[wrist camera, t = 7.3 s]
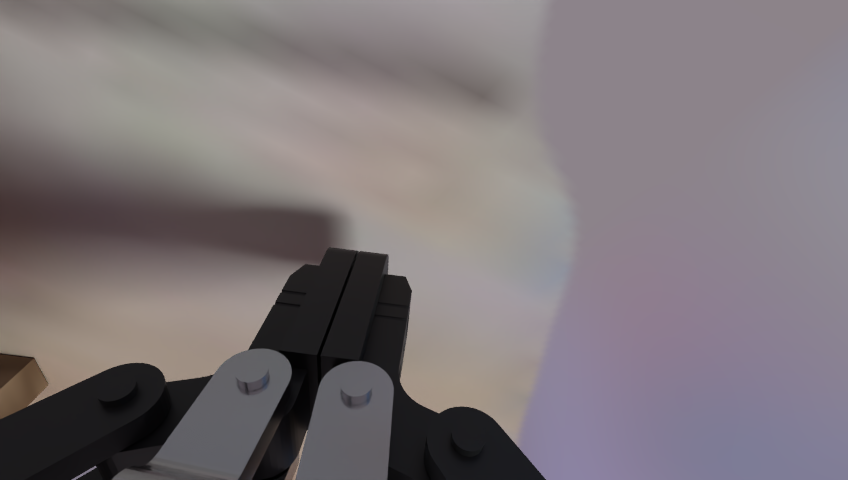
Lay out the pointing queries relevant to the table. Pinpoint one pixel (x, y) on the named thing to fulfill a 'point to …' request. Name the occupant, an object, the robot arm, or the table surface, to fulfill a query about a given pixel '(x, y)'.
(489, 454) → the robot arm
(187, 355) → the table surface
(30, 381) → the walnut corral
